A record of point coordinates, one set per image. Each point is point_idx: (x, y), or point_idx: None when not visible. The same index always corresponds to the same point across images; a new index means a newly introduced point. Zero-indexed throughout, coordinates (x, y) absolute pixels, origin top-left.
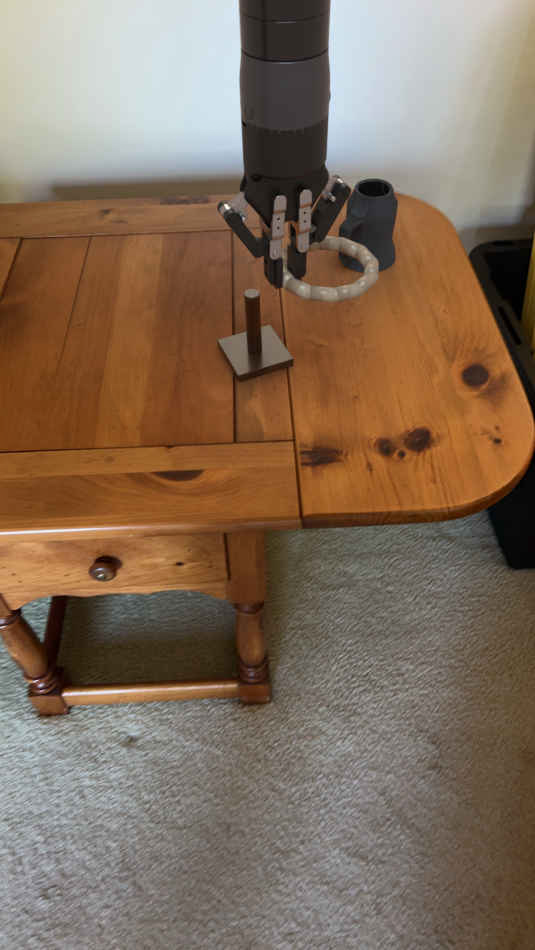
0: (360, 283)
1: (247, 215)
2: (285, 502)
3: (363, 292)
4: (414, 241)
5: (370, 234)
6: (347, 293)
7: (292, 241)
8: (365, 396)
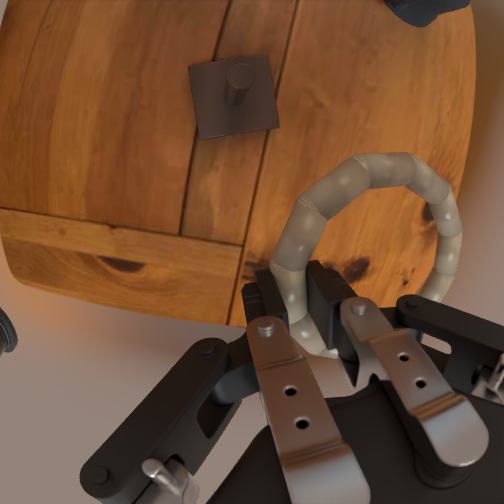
0: None
1: (199, 488)
2: (216, 312)
3: None
4: (449, 12)
5: (429, 3)
6: None
7: (340, 334)
8: None
